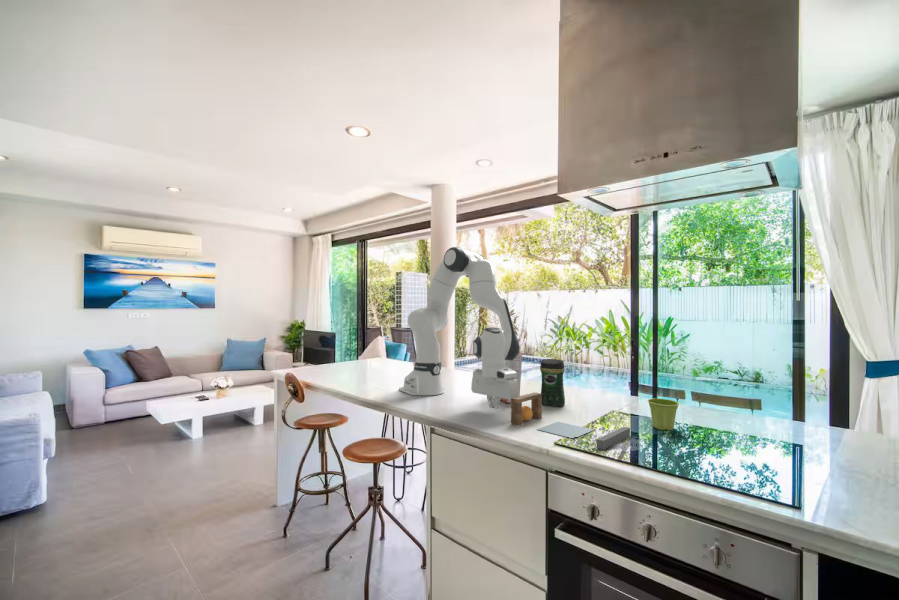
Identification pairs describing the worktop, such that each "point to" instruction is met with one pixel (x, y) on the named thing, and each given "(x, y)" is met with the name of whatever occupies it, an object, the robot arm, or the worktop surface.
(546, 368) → the coffee jar
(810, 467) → the worktop surface
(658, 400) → the plant pot
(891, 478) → the worktop surface
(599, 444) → the wall
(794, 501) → the worktop surface
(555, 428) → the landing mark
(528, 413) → the ball
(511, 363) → the cracker box
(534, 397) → the bridge
